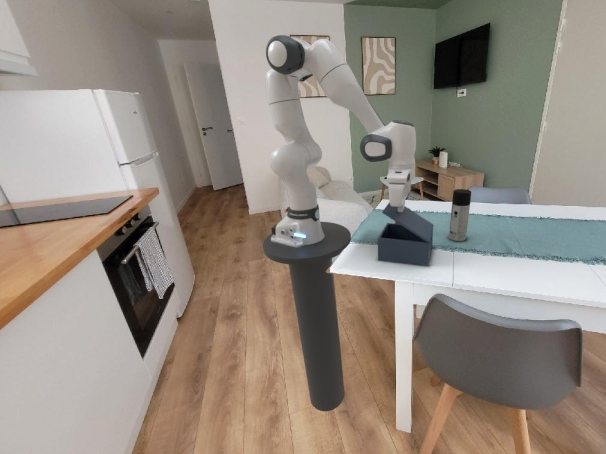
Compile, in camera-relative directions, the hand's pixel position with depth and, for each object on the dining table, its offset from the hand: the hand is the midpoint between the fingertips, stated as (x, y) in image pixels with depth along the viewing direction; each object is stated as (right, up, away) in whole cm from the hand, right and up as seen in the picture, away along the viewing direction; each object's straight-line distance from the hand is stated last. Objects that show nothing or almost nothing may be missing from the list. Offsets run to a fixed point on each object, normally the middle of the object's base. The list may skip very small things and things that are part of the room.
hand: (401, 210), depth 102 cm
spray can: (+25, -10, +16) cm, 32 cm away
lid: (+3, -3, 0) cm, 4 cm away
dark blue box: (+3, -16, +6) cm, 17 cm away
